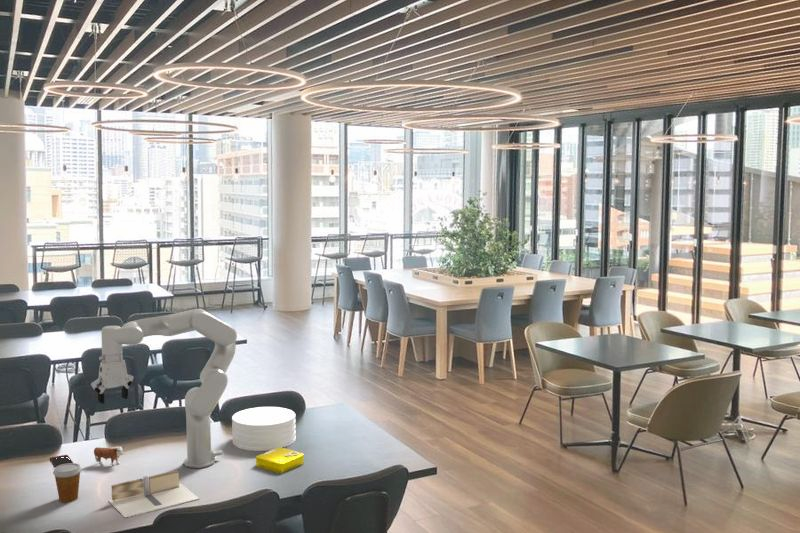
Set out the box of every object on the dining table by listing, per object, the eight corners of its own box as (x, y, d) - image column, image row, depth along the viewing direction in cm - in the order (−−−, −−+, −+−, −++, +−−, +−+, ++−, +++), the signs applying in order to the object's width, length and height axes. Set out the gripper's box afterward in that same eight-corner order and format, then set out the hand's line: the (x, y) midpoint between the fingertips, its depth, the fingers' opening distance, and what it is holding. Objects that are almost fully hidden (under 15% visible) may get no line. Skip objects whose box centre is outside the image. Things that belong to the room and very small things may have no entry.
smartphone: (67, 454, 334) (74, 464, 322) (67, 456, 334) (75, 467, 322) (49, 457, 330) (56, 468, 318) (49, 459, 331) (56, 470, 318)
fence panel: (142, 492, 292) (141, 478, 292) (143, 493, 291) (142, 479, 291) (112, 499, 286) (111, 485, 285) (113, 501, 285) (112, 486, 284)
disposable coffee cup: (59, 494, 293) (58, 463, 292) (86, 493, 294) (84, 462, 293) (50, 504, 284) (49, 472, 283) (77, 503, 285) (76, 471, 283)
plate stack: (264, 426, 374) (264, 403, 373) (308, 438, 358) (308, 413, 356) (219, 442, 351) (218, 417, 350) (264, 455, 335) (263, 429, 334)
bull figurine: (122, 468, 320) (121, 448, 319) (92, 465, 323) (91, 446, 322) (128, 464, 324) (127, 445, 323) (98, 461, 327) (97, 442, 326)
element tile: (279, 456, 335) (279, 445, 334) (305, 463, 326) (305, 452, 326) (253, 466, 323) (253, 455, 322) (280, 474, 314) (280, 463, 314)
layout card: (180, 484, 303) (179, 466, 302) (199, 499, 289) (198, 481, 288) (108, 501, 287) (107, 483, 286) (124, 518, 273) (124, 499, 272)
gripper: (96, 362, 298) (97, 407, 299) (137, 355, 311) (138, 398, 312) (86, 359, 303) (87, 403, 304) (127, 352, 315) (128, 394, 317)
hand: (113, 400), depth 308 cm, fingers open, 9 cm apart
